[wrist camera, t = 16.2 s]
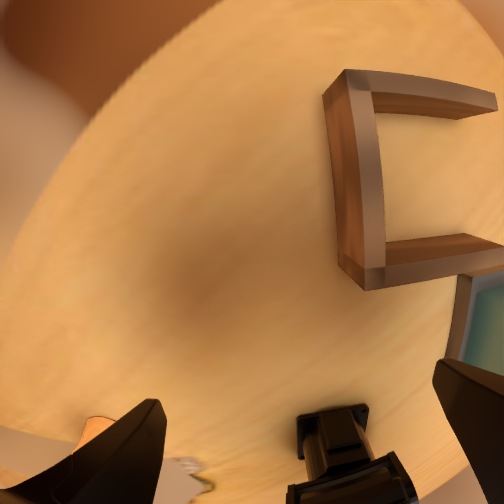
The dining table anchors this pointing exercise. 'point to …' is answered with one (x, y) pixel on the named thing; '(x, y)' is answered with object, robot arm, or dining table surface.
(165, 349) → the dining table surface
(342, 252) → the frame
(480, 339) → the teal block
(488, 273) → the gray tray
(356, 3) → the dining table surface
